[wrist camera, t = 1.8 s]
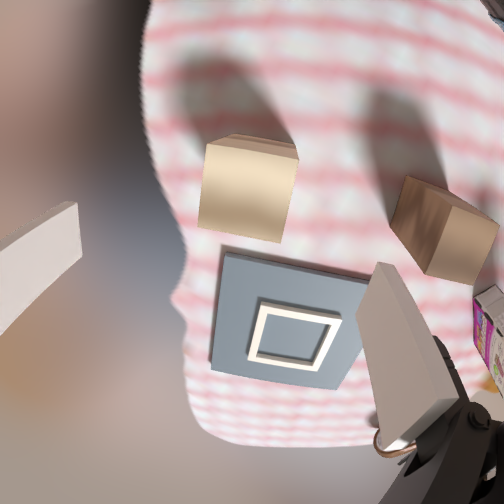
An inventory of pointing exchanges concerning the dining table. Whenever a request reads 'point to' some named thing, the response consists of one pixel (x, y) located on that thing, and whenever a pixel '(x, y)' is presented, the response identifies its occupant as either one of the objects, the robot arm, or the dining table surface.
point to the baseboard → (285, 321)
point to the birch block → (247, 186)
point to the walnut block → (442, 231)
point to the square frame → (296, 314)
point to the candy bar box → (490, 332)
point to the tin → (390, 453)
